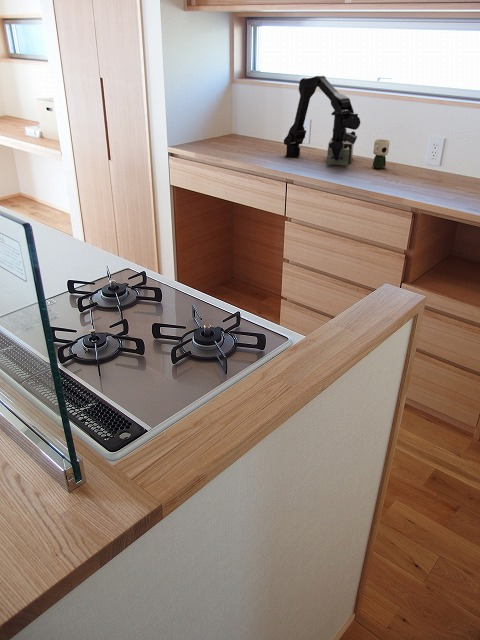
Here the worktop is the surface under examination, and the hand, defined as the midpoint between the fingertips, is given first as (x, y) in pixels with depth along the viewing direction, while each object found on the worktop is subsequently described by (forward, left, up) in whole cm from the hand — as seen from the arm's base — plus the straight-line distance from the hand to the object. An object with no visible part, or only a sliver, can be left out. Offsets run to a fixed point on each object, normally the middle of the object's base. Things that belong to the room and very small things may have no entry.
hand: (336, 160), depth 260 cm
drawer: (0, +9, -3) cm, 10 cm away
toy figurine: (+20, +8, -5) cm, 22 cm away
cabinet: (0, +20, -4) cm, 21 cm away
